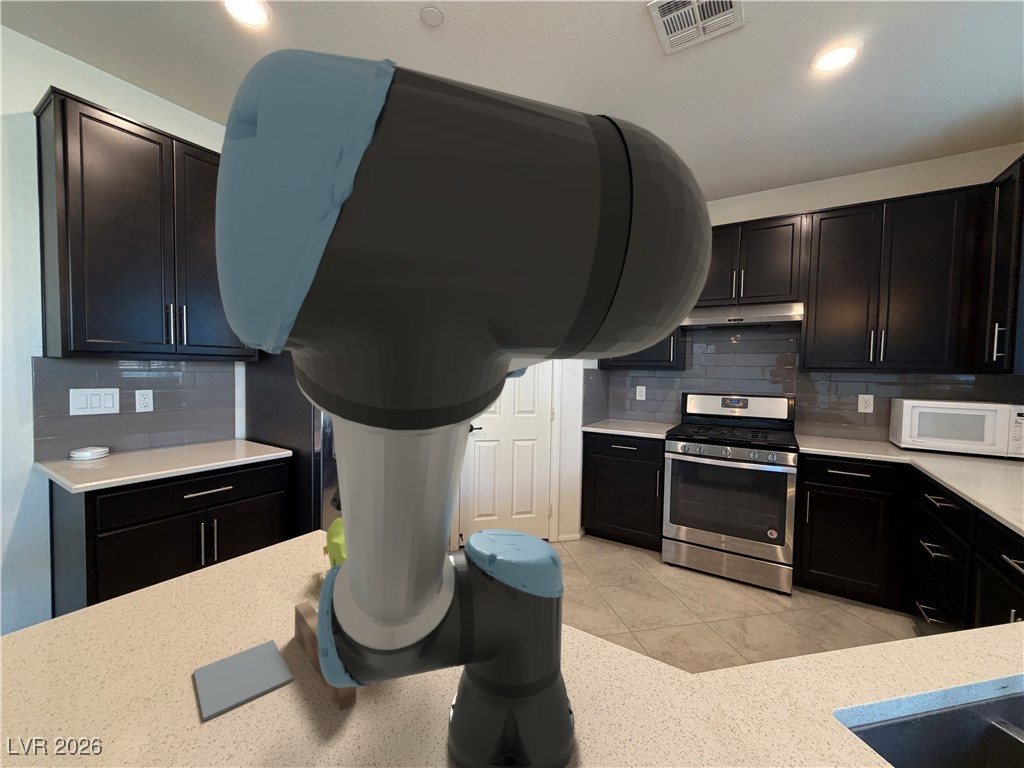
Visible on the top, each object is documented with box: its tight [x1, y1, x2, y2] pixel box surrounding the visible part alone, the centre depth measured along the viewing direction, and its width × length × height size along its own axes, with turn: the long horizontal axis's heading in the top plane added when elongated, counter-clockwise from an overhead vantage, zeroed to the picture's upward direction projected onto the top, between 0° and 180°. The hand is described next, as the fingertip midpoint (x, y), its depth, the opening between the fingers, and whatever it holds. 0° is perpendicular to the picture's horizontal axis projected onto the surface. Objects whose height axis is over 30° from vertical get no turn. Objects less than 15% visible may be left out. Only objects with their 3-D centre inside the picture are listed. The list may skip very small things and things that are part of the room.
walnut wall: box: [294, 600, 357, 710], centre depth 59 cm, size 20×2×5 cm, turn 43°
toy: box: [322, 517, 346, 569], centre depth 83 cm, size 6×17×20 cm
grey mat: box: [193, 639, 294, 722], centre depth 57 cm, size 11×10×1 cm
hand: (395, 540), depth 66 cm, fingers open, 13 cm apart
